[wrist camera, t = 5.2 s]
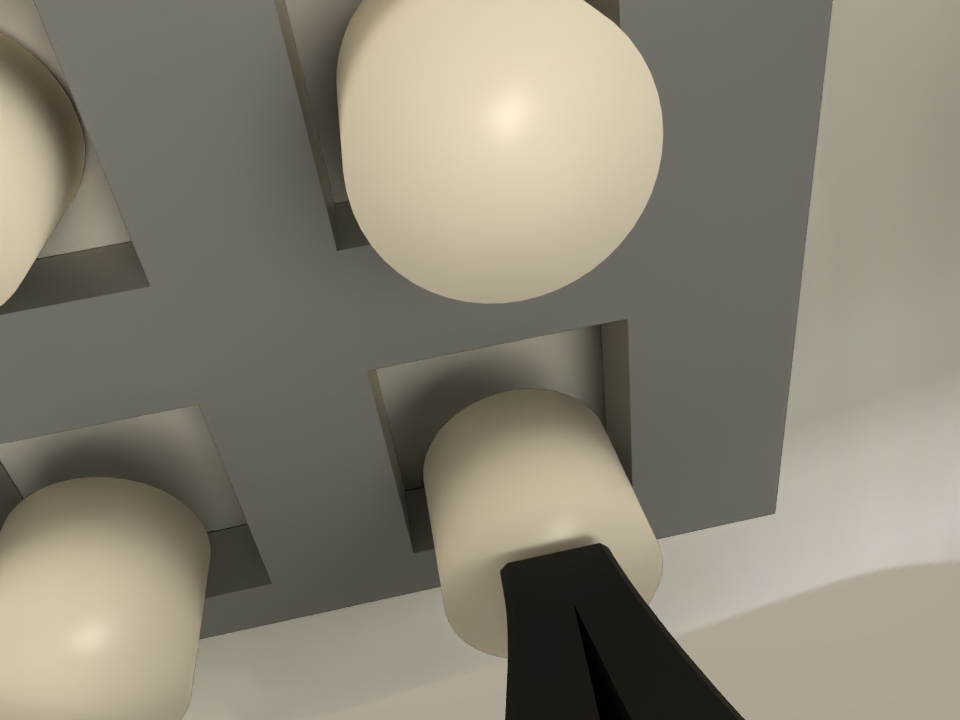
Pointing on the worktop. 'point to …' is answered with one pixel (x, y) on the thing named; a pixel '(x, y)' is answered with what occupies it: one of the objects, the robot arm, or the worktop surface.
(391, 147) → the button
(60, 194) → the button
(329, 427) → the button board
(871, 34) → the worktop surface
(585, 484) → the button
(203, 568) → the button
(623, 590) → the robot arm
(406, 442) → the worktop surface
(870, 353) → the worktop surface
